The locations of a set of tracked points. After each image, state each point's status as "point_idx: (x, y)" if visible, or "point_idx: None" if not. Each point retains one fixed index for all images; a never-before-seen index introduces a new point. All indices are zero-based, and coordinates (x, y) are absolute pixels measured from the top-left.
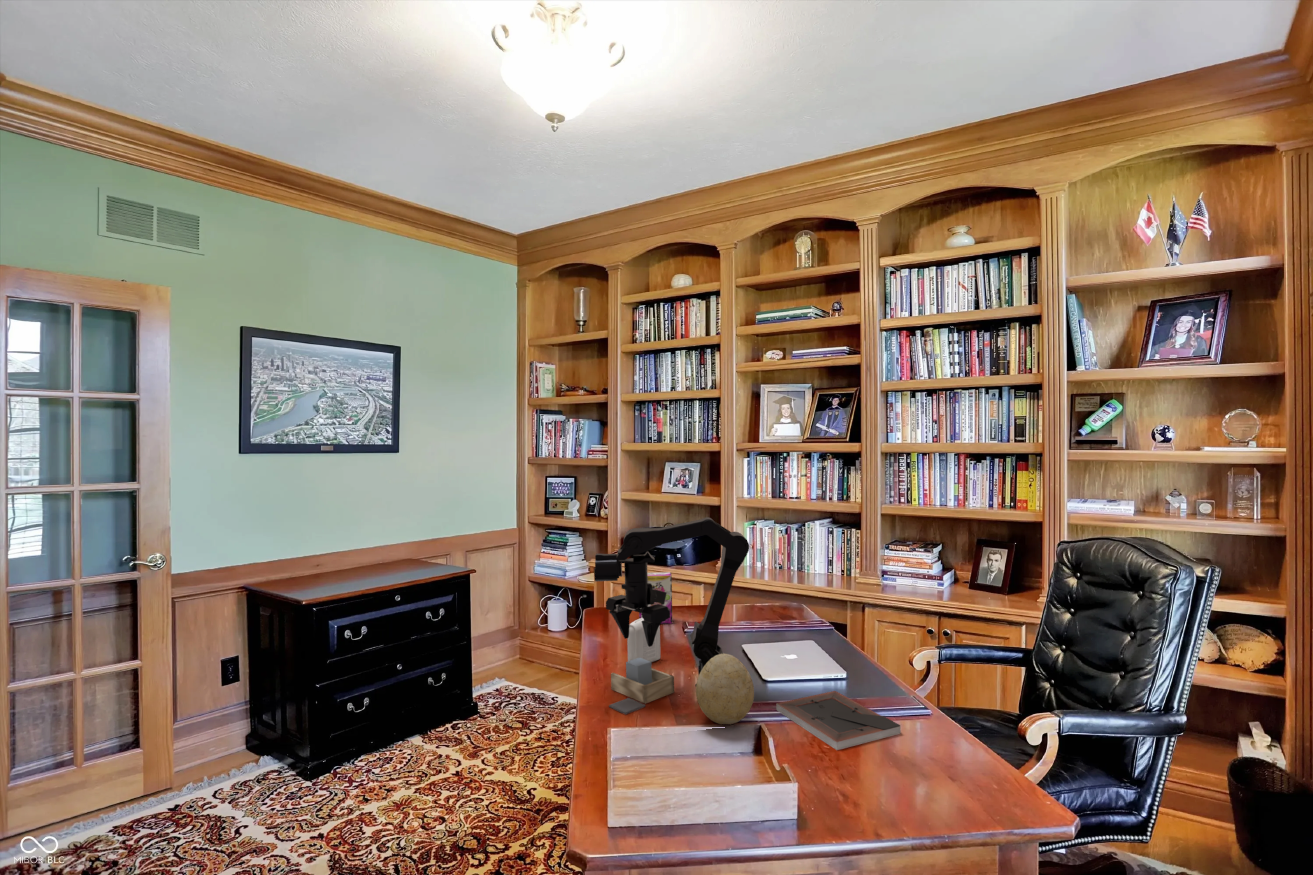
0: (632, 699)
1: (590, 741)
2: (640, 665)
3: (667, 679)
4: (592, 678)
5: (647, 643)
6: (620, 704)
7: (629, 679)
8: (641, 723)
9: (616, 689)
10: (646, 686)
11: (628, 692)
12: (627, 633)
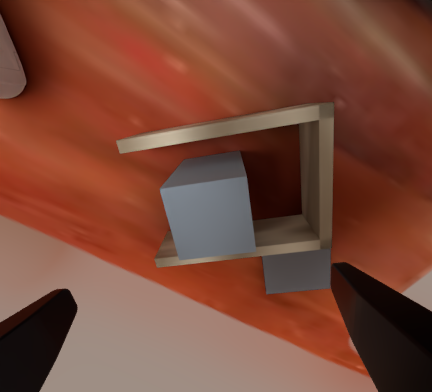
0: None
1: None
2: (253, 237)
3: (332, 141)
4: (70, 239)
5: (346, 316)
6: (282, 275)
7: None
8: (394, 281)
9: None
10: (331, 240)
11: None
12: (47, 325)
